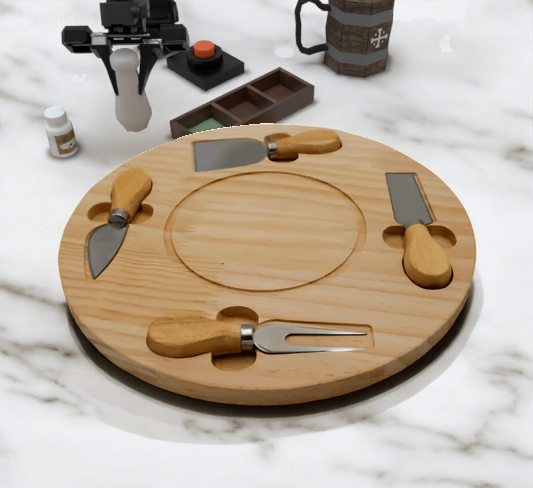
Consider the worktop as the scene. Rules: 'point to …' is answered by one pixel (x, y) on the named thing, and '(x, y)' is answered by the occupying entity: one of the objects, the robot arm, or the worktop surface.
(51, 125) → the pill bottle
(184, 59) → the control block
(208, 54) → the button
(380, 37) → the mug
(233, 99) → the brown compartment tray
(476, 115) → the worktop surface
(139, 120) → the salt shaker
